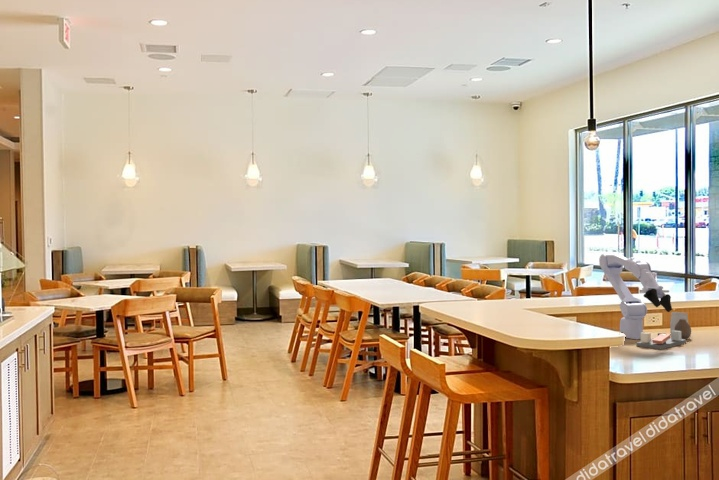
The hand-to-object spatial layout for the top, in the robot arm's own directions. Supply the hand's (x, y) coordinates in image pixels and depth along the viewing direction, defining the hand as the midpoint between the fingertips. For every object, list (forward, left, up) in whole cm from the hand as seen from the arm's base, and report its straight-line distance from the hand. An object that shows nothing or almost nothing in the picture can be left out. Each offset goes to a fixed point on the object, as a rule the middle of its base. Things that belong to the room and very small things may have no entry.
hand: (664, 308), depth 294 cm
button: (-8, +11, -15) cm, 20 cm away
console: (-4, +4, -16) cm, 17 cm away
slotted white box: (0, +9, -15) cm, 17 cm away
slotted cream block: (-7, -3, -15) cm, 16 cm away
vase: (-5, +23, -16) cm, 28 cm away
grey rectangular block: (-12, +33, -17) cm, 38 cm away
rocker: (-1, -1, -13) cm, 13 cm away
